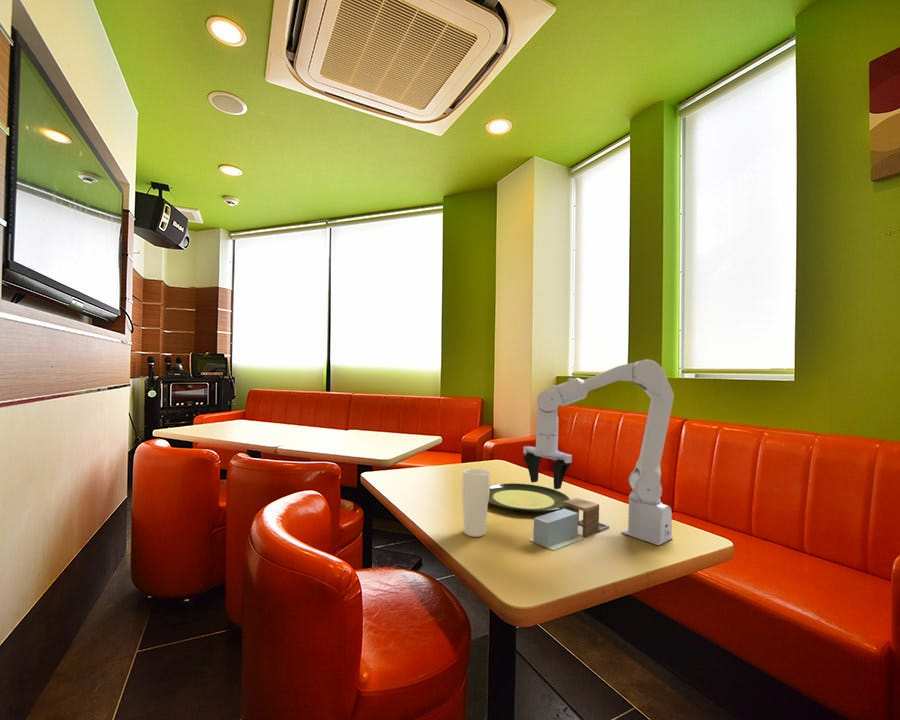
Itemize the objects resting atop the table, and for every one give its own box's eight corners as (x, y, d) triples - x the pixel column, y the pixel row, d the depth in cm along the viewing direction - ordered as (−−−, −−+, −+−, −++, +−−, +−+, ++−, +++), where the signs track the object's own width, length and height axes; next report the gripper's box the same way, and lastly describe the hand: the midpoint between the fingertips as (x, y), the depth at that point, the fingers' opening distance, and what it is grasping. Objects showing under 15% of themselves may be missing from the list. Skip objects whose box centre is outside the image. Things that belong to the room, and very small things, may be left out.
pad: (583, 538, 101) (583, 537, 101) (553, 550, 93) (553, 549, 93) (559, 529, 106) (559, 528, 106) (529, 540, 99) (529, 539, 99)
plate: (576, 523, 112) (576, 513, 112) (473, 513, 117) (473, 505, 117) (564, 493, 140) (564, 486, 140) (481, 487, 145) (482, 480, 145)
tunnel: (598, 532, 106) (599, 504, 106) (585, 537, 102) (586, 508, 102) (575, 524, 111) (576, 497, 111) (562, 529, 107) (563, 501, 107)
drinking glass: (465, 540, 98) (467, 475, 98) (457, 529, 104) (459, 468, 105) (492, 537, 99) (494, 474, 100) (482, 527, 106) (484, 468, 106)
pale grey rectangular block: (577, 535, 102) (578, 513, 102) (547, 547, 94) (547, 522, 94) (563, 530, 105) (564, 508, 105) (533, 541, 97) (533, 517, 97)
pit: (609, 528, 109) (609, 525, 109) (600, 531, 106) (600, 529, 106) (585, 520, 114) (585, 518, 114) (576, 523, 111) (576, 521, 111)
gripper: (516, 431, 115) (515, 481, 115) (560, 439, 104) (559, 494, 103) (533, 430, 119) (531, 477, 119) (577, 437, 108) (575, 489, 108)
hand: (545, 485), depth 112 cm, fingers open, 7 cm apart
